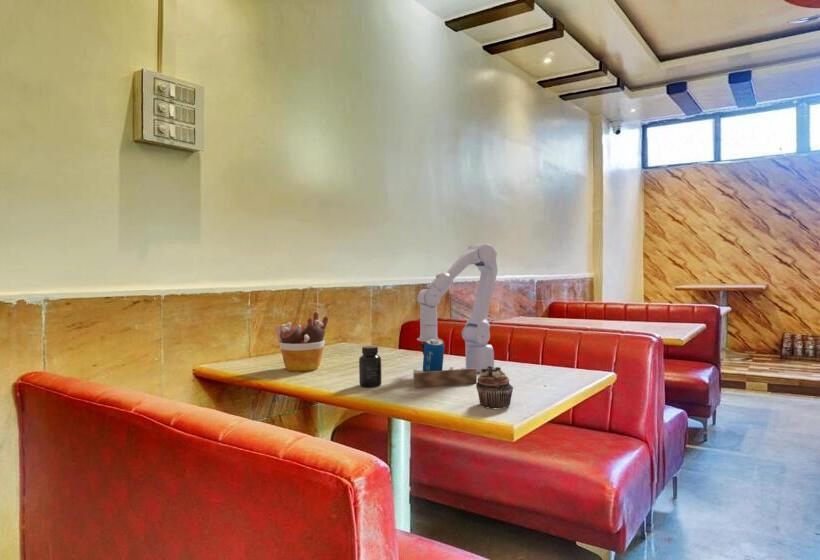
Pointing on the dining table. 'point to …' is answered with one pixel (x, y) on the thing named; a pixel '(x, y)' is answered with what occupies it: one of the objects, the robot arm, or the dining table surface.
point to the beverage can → (433, 355)
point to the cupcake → (494, 388)
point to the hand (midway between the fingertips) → (429, 365)
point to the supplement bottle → (370, 367)
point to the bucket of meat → (302, 344)
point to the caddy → (444, 377)
